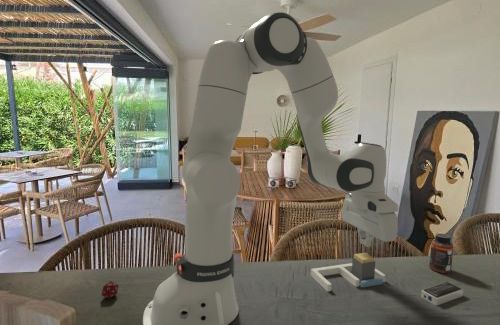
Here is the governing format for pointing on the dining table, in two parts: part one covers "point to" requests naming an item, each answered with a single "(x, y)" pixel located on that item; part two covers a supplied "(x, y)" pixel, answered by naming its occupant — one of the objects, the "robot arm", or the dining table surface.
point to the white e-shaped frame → (345, 272)
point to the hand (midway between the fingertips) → (365, 244)
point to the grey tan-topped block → (363, 266)
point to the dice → (110, 290)
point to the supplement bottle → (441, 254)
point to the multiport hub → (441, 293)
